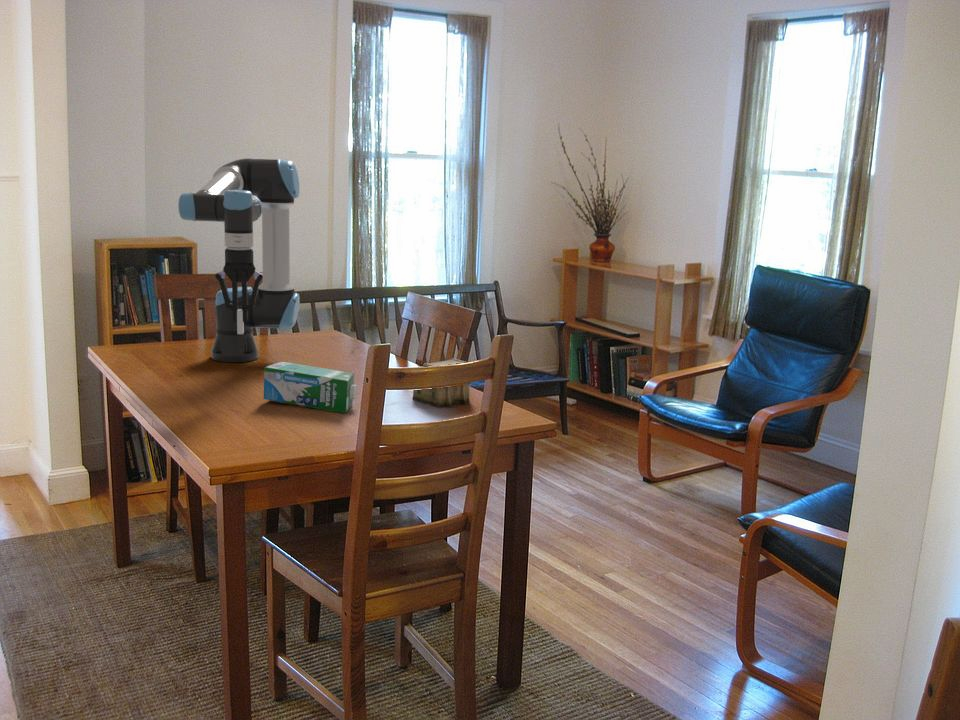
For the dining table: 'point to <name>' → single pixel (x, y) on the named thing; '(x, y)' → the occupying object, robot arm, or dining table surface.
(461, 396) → the miniature house
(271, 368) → the milk carton
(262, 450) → the dining table surface
